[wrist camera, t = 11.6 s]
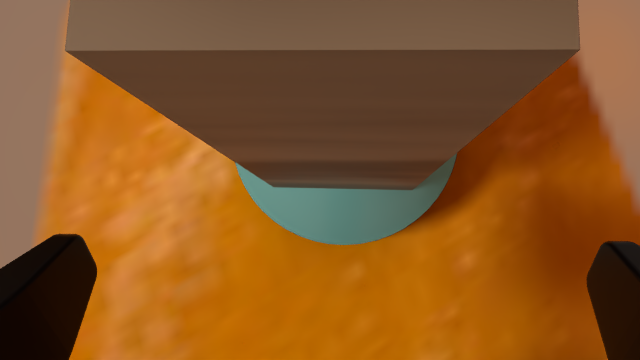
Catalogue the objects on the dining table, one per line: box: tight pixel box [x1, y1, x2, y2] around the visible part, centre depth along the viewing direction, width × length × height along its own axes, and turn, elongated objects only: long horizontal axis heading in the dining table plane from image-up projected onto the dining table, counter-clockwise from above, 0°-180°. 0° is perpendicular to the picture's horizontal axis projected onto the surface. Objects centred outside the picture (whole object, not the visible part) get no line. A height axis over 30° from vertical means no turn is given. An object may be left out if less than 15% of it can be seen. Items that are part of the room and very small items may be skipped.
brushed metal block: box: [65, 0, 580, 190], centre depth 11 cm, size 5×5×13 cm
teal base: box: [235, 153, 457, 245], centre depth 19 cm, size 9×9×2 cm
